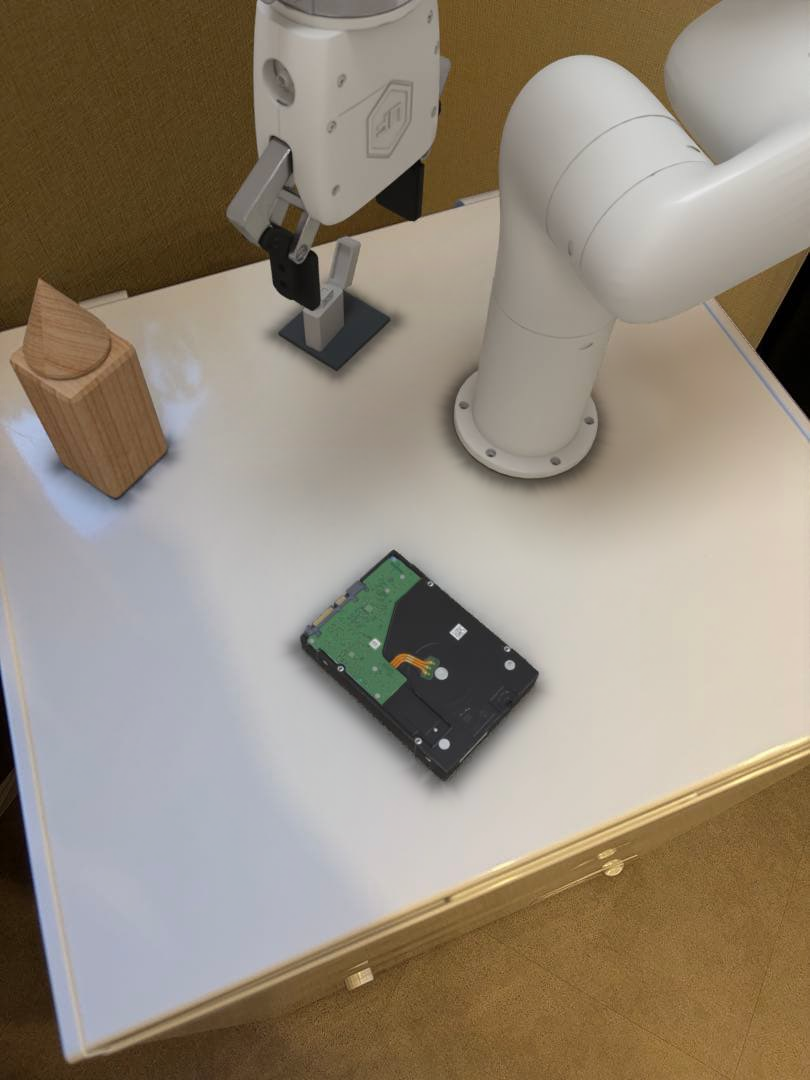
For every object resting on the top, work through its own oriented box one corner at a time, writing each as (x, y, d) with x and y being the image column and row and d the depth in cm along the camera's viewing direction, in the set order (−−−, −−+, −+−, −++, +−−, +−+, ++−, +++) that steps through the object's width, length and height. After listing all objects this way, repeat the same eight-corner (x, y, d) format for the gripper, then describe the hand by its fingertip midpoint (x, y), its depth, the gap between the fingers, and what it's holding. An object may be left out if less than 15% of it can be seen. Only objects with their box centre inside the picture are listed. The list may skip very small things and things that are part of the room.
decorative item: (115, 413, 77) (42, 229, 60) (172, 450, 76) (114, 271, 58) (58, 463, 75) (-35, 285, 57) (116, 503, 73) (37, 332, 56)
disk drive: (536, 684, 66) (391, 562, 71) (543, 670, 64) (392, 545, 69) (444, 785, 62) (297, 649, 67) (448, 775, 60) (295, 634, 64)
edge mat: (333, 286, 86) (333, 283, 86) (390, 320, 84) (390, 317, 84) (278, 334, 83) (278, 331, 82) (336, 371, 81) (336, 368, 80)
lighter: (320, 352, 81) (316, 286, 74) (304, 344, 82) (298, 278, 75) (362, 304, 84) (361, 237, 77) (346, 297, 85) (344, 230, 78)
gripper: (276, 73, 35) (304, 367, 49) (521, -96, 42) (481, 205, 57) (139, 1, 37) (204, 304, 51) (394, -148, 44) (387, 156, 59)
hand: (349, 252), depth 54 cm, fingers open, 9 cm apart
